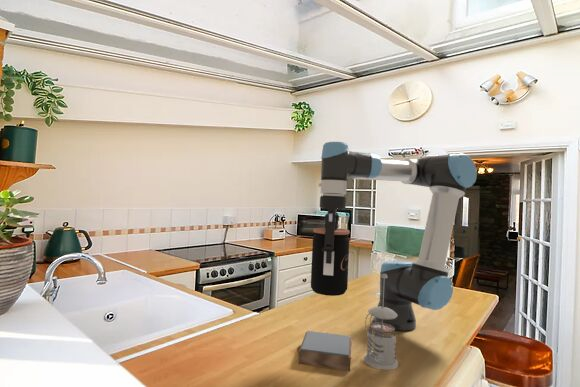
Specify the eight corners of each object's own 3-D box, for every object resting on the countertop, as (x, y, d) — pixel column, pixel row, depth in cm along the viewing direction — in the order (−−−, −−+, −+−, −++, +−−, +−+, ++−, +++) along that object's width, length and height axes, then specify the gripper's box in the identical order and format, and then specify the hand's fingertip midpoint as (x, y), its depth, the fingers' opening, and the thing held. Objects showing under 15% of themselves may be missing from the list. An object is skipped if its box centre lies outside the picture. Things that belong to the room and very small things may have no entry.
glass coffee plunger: (377, 372, 90) (381, 278, 91) (352, 353, 101) (356, 269, 101) (406, 366, 94) (409, 276, 94) (379, 348, 105) (382, 268, 105)
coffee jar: (346, 298, 92) (349, 232, 93) (307, 294, 94) (310, 229, 95) (347, 288, 103) (350, 229, 103) (312, 284, 105) (315, 226, 105)
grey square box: (350, 348, 104) (351, 335, 104) (350, 371, 90) (350, 355, 90) (305, 342, 107) (306, 330, 107) (298, 363, 93) (299, 349, 93)
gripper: (323, 195, 111) (320, 262, 111) (315, 194, 88) (312, 278, 88) (346, 196, 110) (343, 264, 109) (344, 195, 87) (341, 281, 87)
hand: (329, 270), depth 99 cm, fingers closed on coffee jar, 11 cm apart
